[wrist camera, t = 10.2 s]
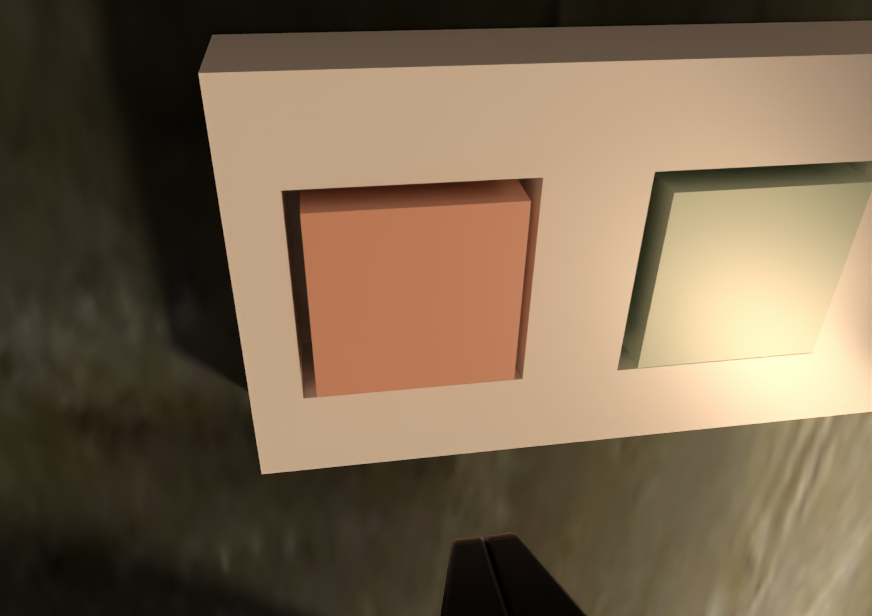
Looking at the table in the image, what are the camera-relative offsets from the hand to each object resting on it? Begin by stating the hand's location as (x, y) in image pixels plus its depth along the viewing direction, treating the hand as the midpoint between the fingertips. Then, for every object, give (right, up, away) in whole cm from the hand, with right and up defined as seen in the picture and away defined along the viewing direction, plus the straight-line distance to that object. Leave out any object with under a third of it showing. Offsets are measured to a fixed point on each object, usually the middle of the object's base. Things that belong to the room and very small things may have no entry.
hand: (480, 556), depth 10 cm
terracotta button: (-1, +4, +7) cm, 8 cm away
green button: (+6, +5, +8) cm, 11 cm away
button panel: (+6, +5, +8) cm, 11 cm away
